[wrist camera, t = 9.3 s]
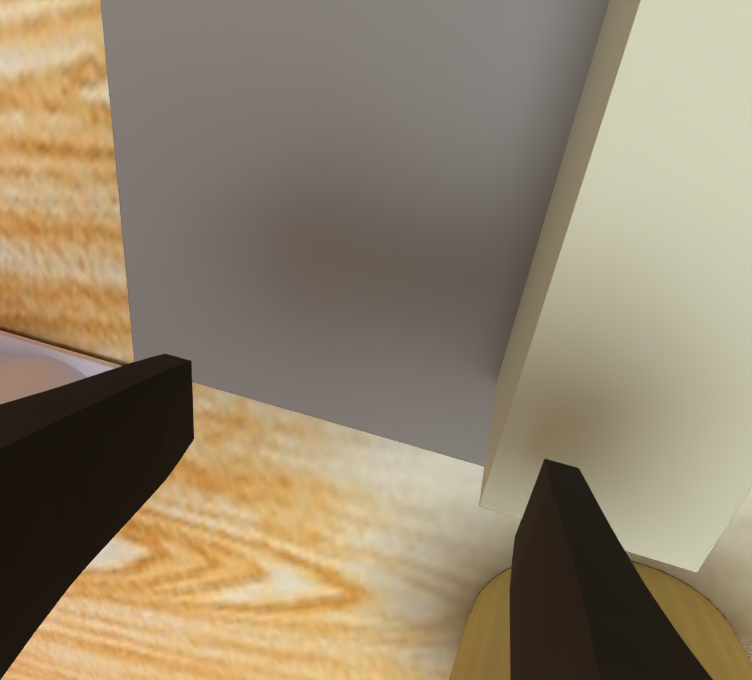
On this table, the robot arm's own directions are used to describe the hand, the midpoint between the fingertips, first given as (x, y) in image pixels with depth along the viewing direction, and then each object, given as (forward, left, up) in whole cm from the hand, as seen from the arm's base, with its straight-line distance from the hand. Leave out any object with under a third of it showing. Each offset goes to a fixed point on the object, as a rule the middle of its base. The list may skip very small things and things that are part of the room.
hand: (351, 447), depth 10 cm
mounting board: (-1, +3, -9) cm, 10 cm away
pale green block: (+5, +4, -8) cm, 10 cm away
